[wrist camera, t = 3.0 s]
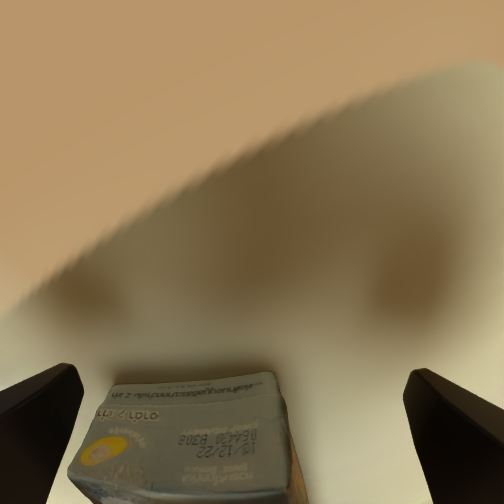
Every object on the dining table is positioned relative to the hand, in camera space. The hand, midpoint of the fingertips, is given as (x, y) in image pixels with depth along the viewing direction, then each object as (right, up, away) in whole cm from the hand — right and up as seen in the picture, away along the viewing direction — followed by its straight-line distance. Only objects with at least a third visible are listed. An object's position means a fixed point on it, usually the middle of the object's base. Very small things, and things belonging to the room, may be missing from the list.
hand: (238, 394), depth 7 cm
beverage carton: (0, -10, +8) cm, 13 cm away
